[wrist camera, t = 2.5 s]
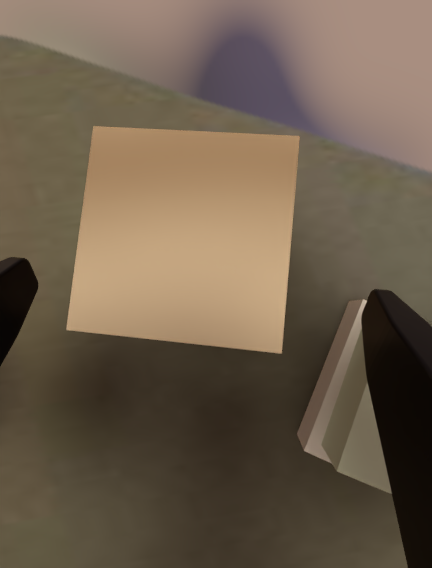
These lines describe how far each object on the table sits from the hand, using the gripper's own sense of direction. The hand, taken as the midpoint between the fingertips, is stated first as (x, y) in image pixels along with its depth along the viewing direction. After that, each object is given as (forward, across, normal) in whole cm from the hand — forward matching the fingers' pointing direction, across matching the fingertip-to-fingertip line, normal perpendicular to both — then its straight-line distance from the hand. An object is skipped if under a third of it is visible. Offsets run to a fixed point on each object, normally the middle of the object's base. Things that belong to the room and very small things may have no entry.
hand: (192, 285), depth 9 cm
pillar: (+7, 0, +6) cm, 9 cm away
